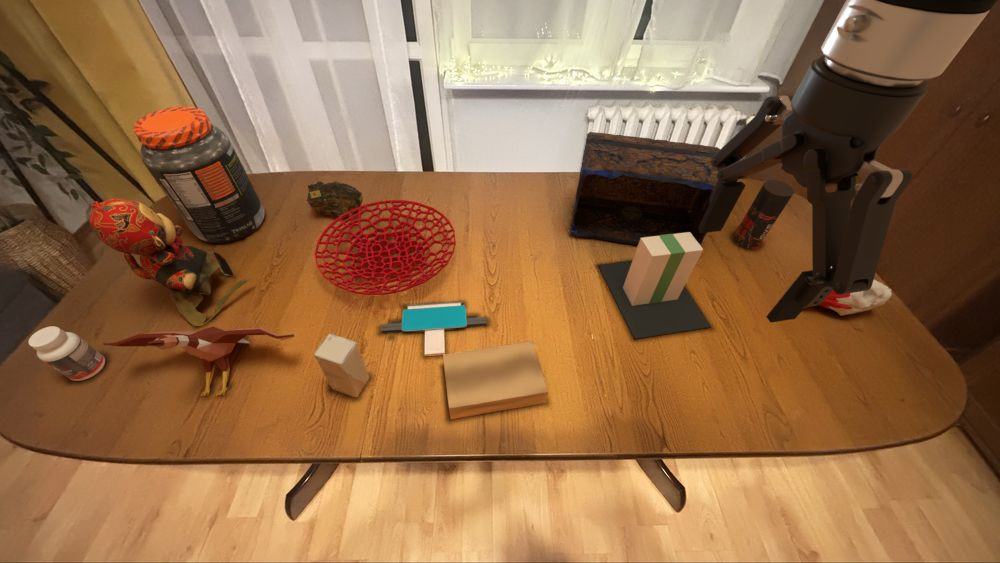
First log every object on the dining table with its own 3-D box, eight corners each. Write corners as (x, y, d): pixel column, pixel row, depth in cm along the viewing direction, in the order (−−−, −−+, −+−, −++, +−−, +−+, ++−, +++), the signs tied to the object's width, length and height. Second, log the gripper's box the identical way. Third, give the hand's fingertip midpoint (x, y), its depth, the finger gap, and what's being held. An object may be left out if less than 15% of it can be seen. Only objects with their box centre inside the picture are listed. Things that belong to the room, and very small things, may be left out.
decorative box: (702, 261, 95) (689, 201, 107) (742, 194, 79) (722, 132, 91) (568, 249, 98) (569, 192, 110) (580, 182, 82) (581, 123, 93)
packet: (652, 256, 73) (703, 249, 75) (640, 237, 77) (690, 231, 78) (632, 306, 84) (677, 299, 85) (622, 287, 87) (666, 281, 89)
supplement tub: (225, 199, 105) (168, 97, 86) (280, 210, 103) (233, 107, 84) (178, 239, 95) (100, 133, 76) (237, 252, 92) (173, 146, 73)
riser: (545, 403, 70) (548, 391, 67) (450, 419, 67) (448, 408, 64) (531, 353, 76) (533, 340, 73) (444, 366, 74) (442, 354, 71)
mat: (710, 327, 81) (711, 326, 81) (634, 339, 79) (634, 338, 79) (664, 257, 94) (665, 256, 94) (597, 265, 92) (598, 264, 92)
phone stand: (378, 360, 75) (377, 355, 73) (384, 308, 83) (382, 303, 81) (489, 351, 76) (489, 346, 75) (484, 301, 84) (484, 296, 83)
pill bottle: (61, 382, 70) (13, 350, 63) (82, 355, 74) (38, 322, 67) (94, 381, 71) (50, 349, 63) (113, 354, 74) (73, 321, 67)
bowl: (324, 325, 80) (316, 308, 76) (319, 229, 98) (312, 212, 95) (472, 291, 86) (471, 274, 82) (441, 207, 105) (439, 191, 101)
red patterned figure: (233, 323, 77) (108, 226, 59) (158, 333, 81) (18, 244, 62) (263, 263, 87) (165, 164, 68) (196, 274, 90) (84, 182, 72)
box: (331, 389, 71) (311, 353, 62) (345, 368, 73) (327, 331, 65) (358, 398, 70) (341, 364, 61) (371, 377, 72) (357, 341, 64)
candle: (878, 314, 84) (811, 333, 82) (835, 274, 91) (773, 291, 90) (907, 285, 77) (835, 306, 76) (858, 245, 84) (791, 263, 83)
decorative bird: (85, 432, 61) (37, 347, 55) (166, 359, 78) (136, 287, 71) (283, 421, 63) (259, 337, 57) (321, 352, 80) (306, 281, 73)
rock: (357, 169, 101) (351, 182, 95) (371, 202, 106) (367, 217, 100) (308, 181, 101) (299, 195, 95) (325, 214, 107) (317, 229, 100)
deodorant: (740, 229, 102) (771, 176, 91) (764, 242, 99) (799, 189, 88) (728, 239, 99) (758, 186, 88) (751, 253, 96) (786, 200, 85)
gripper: (731, 16, 38) (660, 204, 54) (999, 163, 21) (783, 373, 37) (803, 13, 39) (712, 199, 55) (1111, 151, 23) (855, 360, 38)
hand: (741, 269), depth 46 cm, fingers open, 13 cm apart
